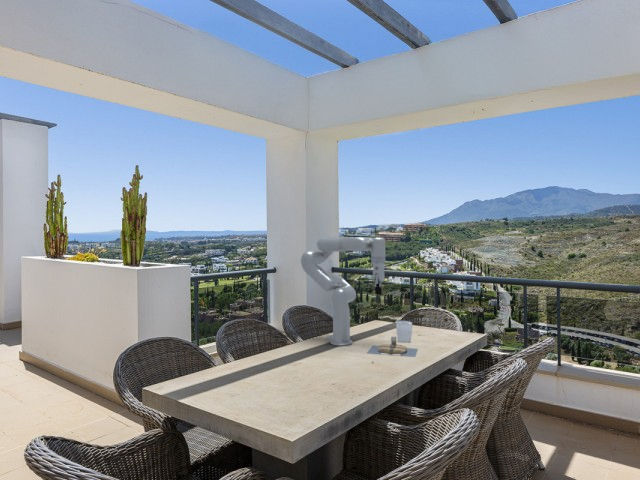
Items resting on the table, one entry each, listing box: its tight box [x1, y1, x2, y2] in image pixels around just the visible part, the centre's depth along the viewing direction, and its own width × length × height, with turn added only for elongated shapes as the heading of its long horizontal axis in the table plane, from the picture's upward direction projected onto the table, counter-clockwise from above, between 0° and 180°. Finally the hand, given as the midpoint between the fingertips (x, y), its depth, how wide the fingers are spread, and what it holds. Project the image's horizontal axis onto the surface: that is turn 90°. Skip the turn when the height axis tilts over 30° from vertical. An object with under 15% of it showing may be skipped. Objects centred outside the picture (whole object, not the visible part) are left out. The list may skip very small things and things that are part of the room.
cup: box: [395, 320, 413, 343], centre depth 243 cm, size 9×9×12 cm
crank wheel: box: [378, 336, 408, 354], centre depth 219 cm, size 15×14×6 cm
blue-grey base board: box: [366, 345, 419, 358], centre depth 220 cm, size 24×17×2 cm
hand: (378, 294), depth 232 cm, fingers closed
